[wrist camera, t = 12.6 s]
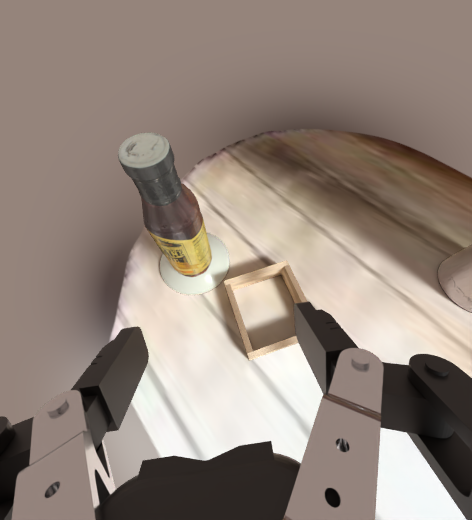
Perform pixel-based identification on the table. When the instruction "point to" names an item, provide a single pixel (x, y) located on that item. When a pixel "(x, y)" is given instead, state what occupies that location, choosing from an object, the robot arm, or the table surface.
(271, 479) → the robot arm
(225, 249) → the trivet
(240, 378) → the table surface
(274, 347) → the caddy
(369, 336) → the table surface
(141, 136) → the sauce bottle
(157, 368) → the table surface
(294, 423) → the table surface
